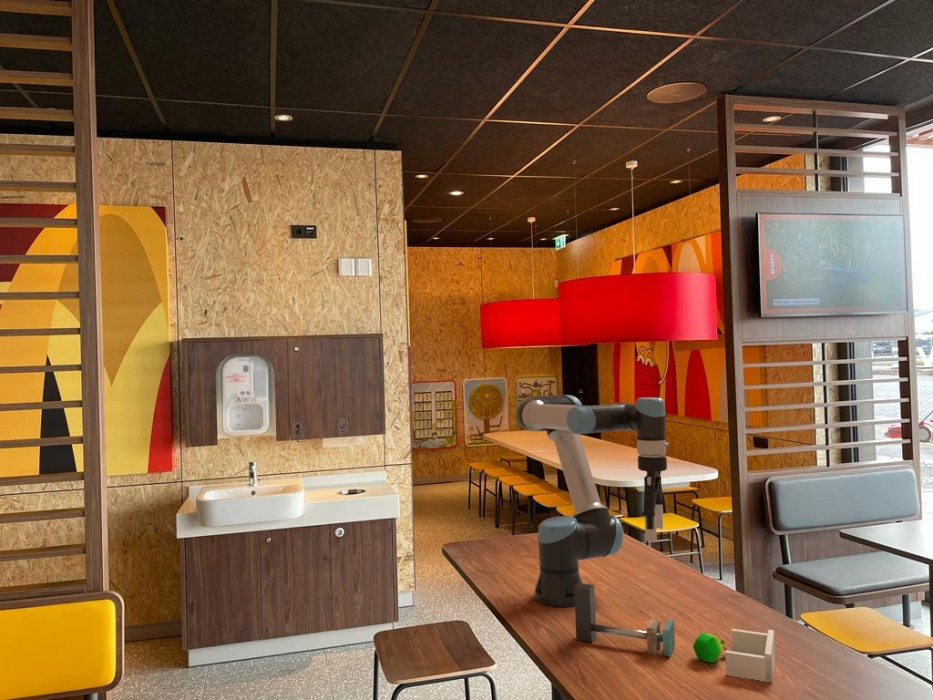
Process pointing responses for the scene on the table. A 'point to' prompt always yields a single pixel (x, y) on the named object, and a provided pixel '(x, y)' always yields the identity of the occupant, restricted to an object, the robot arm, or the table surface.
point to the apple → (708, 647)
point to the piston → (588, 626)
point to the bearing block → (653, 637)
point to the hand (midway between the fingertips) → (654, 534)
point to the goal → (751, 655)
